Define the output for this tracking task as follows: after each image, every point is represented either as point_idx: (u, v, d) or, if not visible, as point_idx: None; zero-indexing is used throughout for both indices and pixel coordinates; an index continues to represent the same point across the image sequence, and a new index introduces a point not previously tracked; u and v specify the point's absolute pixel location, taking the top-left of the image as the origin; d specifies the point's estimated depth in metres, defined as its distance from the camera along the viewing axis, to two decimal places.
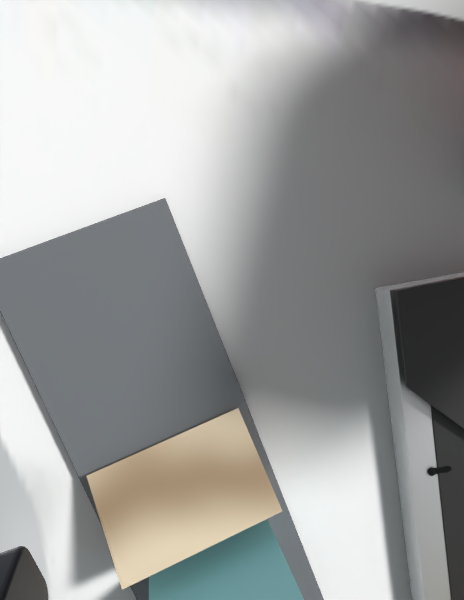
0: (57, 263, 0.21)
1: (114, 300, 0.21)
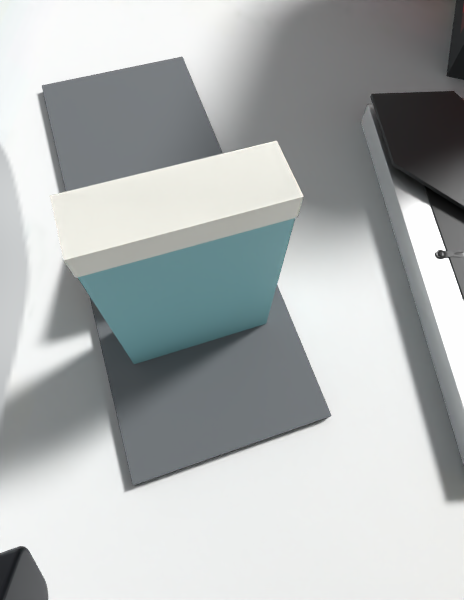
0: (96, 87, 0.27)
1: (133, 110, 0.27)
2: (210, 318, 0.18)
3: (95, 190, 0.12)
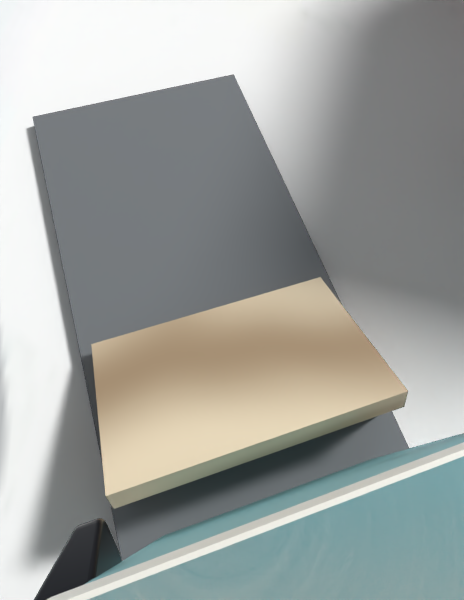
0: (112, 119, 0.19)
1: (167, 155, 0.18)
2: None
3: (165, 594, 0.03)
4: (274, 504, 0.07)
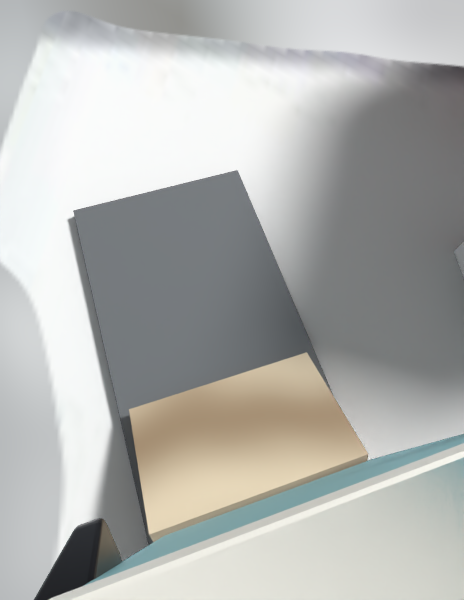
0: (138, 212, 0.23)
1: (183, 244, 0.22)
2: None
3: (165, 595, 0.03)
4: (274, 505, 0.07)
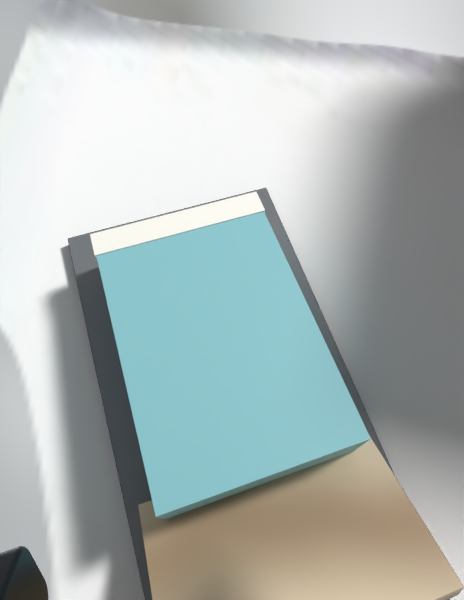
0: None
1: None
2: (250, 380, 0.14)
3: None
4: None
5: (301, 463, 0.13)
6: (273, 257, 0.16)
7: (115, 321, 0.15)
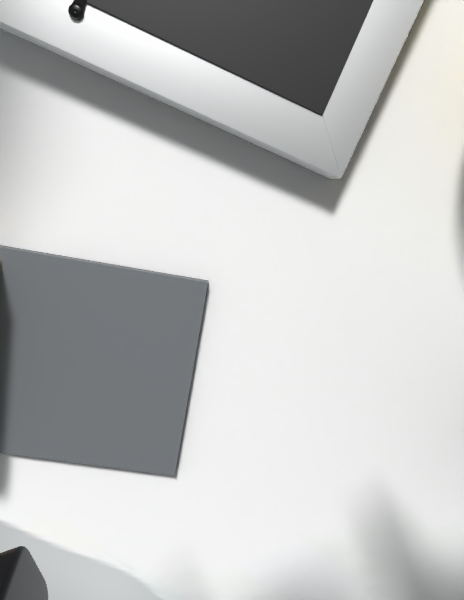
0: None
1: None
2: None
3: None
4: None
5: None
6: None
7: None
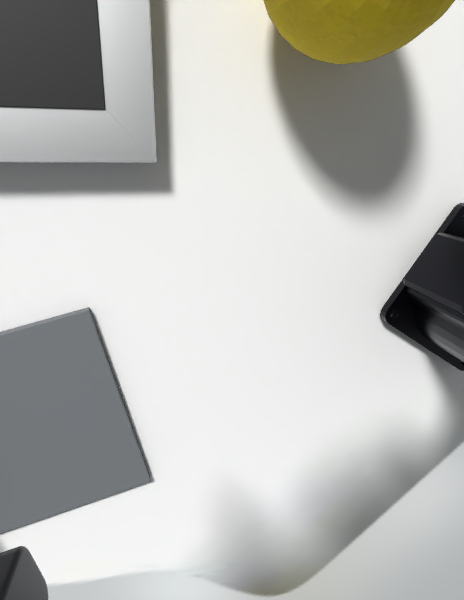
0: None
1: None
2: None
3: None
4: None
5: None
6: None
7: None
